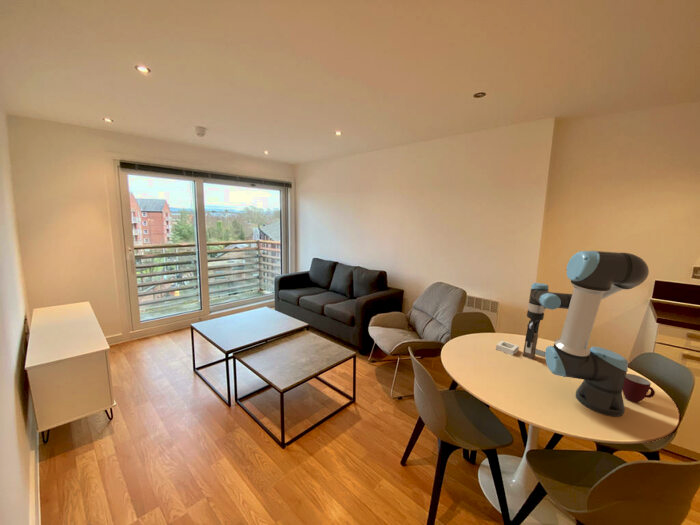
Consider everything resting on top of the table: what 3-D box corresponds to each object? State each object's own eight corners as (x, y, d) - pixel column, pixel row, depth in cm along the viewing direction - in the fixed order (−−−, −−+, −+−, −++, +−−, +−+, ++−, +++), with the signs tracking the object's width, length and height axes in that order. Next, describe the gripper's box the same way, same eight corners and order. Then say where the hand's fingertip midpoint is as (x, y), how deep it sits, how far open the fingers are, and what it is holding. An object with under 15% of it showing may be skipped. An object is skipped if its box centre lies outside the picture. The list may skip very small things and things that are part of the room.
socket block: (512, 355, 152) (513, 350, 152) (495, 349, 159) (496, 344, 159) (518, 350, 158) (519, 346, 158) (501, 345, 165) (502, 340, 164)
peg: (531, 359, 149) (535, 336, 147) (522, 356, 152) (526, 333, 150) (534, 356, 152) (538, 334, 150) (525, 353, 155) (528, 331, 153)
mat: (543, 356, 152) (543, 356, 152) (529, 351, 158) (529, 351, 158) (547, 353, 157) (547, 352, 157) (533, 348, 162) (533, 347, 162)
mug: (641, 396, 120) (646, 375, 118) (658, 409, 112) (663, 387, 111) (614, 392, 122) (618, 372, 120) (628, 404, 114) (633, 383, 113)
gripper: (539, 316, 139) (532, 358, 143) (548, 310, 151) (542, 349, 155) (522, 312, 145) (516, 353, 149) (533, 306, 156) (527, 344, 160)
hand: (529, 351), depth 152 cm, fingers closed on peg, 4 cm apart
